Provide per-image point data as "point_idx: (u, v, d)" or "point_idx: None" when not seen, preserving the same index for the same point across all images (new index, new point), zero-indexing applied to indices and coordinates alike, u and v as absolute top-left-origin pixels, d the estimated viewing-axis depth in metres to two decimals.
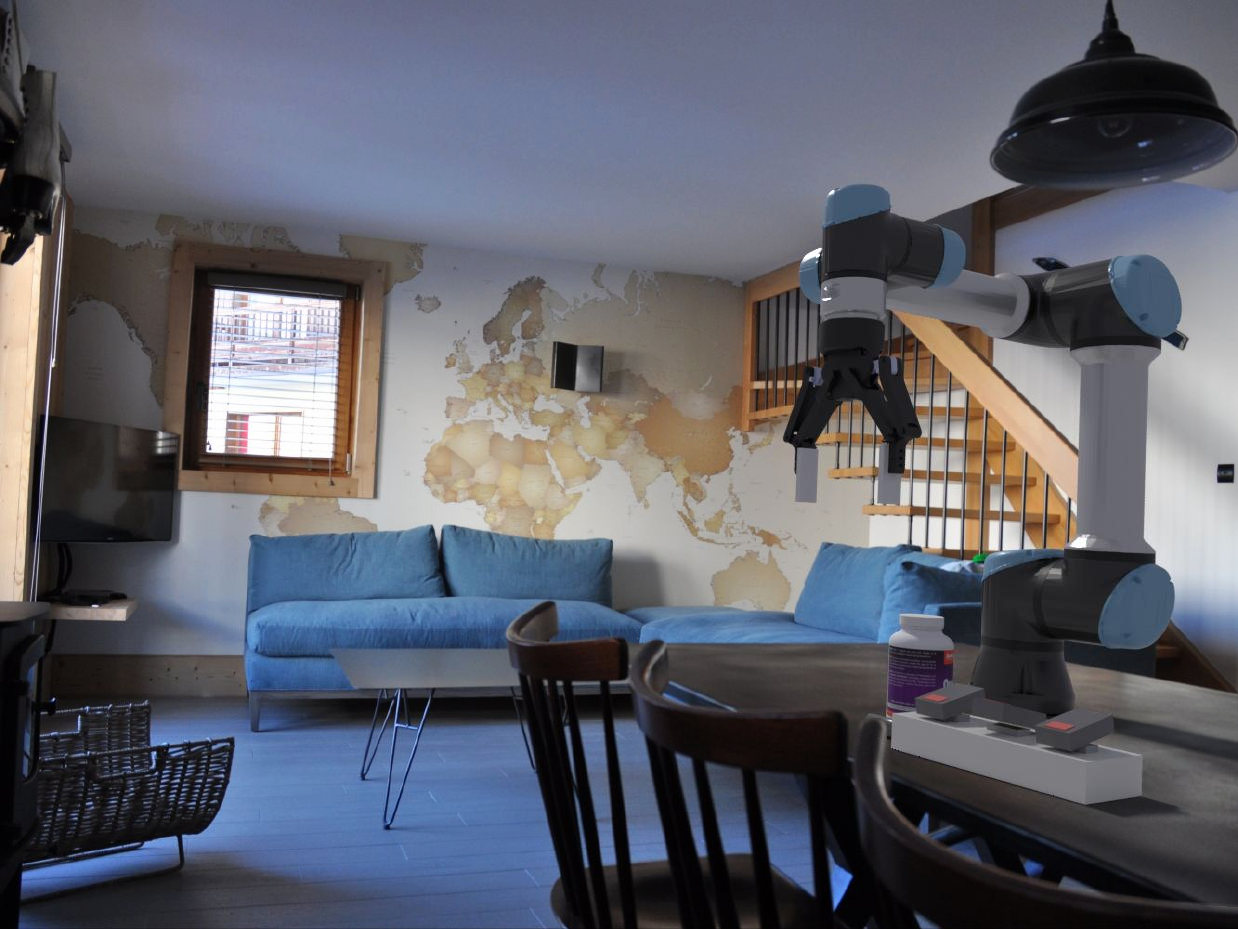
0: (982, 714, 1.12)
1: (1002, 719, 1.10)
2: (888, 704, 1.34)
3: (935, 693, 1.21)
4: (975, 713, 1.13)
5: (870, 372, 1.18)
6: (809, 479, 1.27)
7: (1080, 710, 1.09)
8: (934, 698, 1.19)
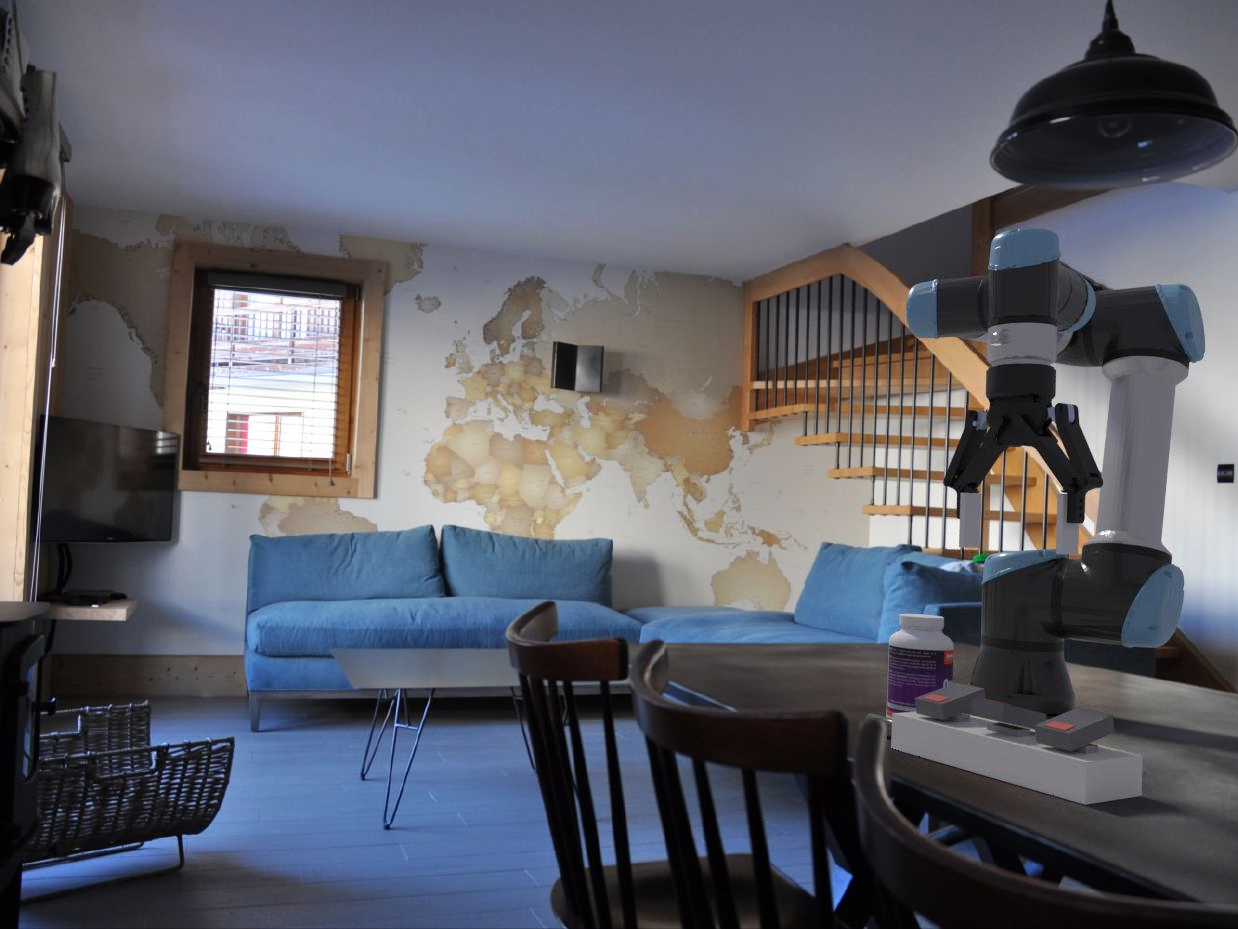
0: (982, 714, 1.12)
1: (1002, 719, 1.10)
2: (888, 704, 1.34)
3: (935, 693, 1.21)
4: (975, 713, 1.13)
5: (1044, 419, 1.17)
6: (973, 524, 1.26)
7: (1080, 710, 1.09)
8: (934, 698, 1.19)
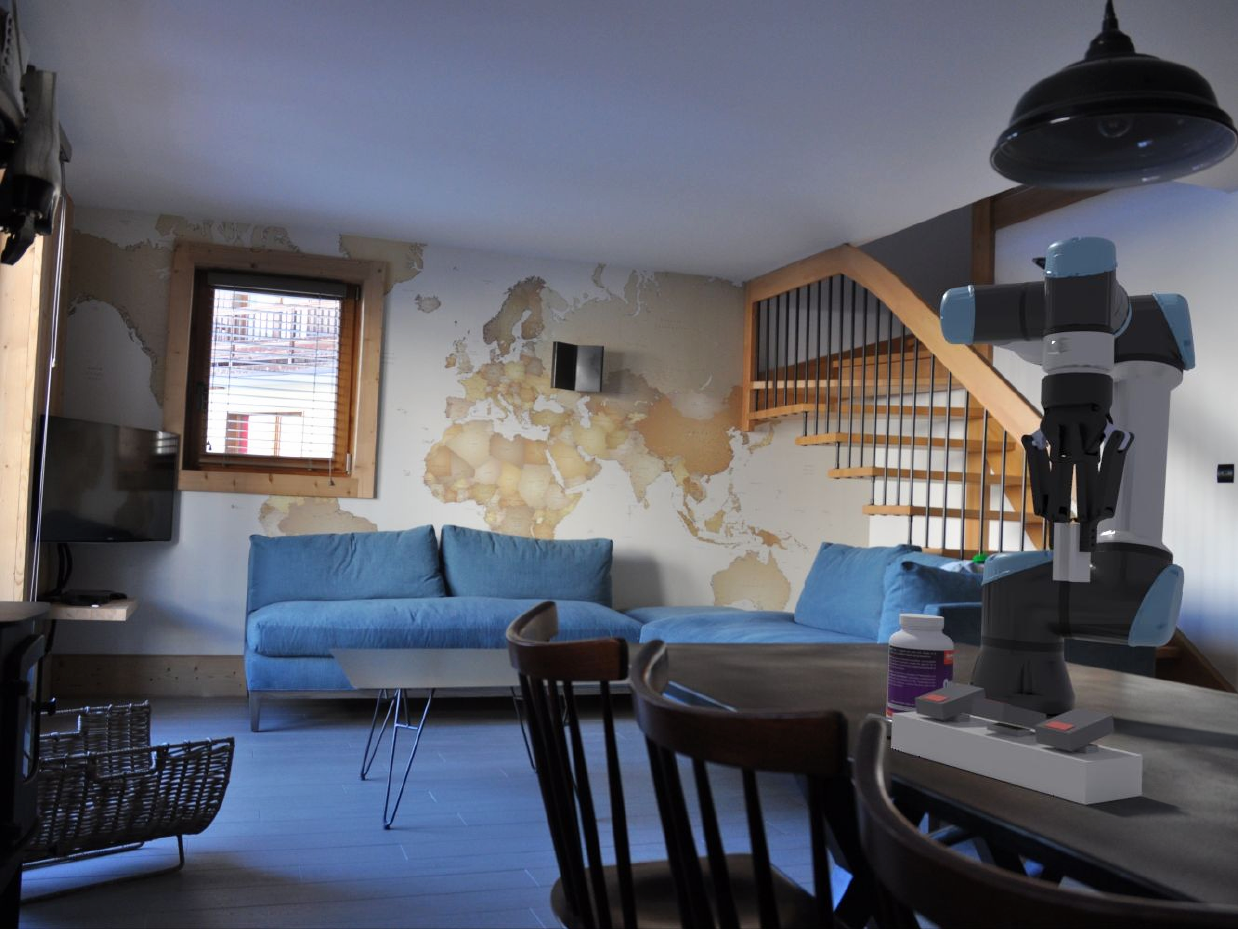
0: (982, 714, 1.12)
1: (1002, 719, 1.10)
2: (888, 704, 1.34)
3: (935, 693, 1.21)
4: (975, 713, 1.13)
5: None
6: (1067, 556, 1.20)
7: (1080, 710, 1.09)
8: (934, 698, 1.19)
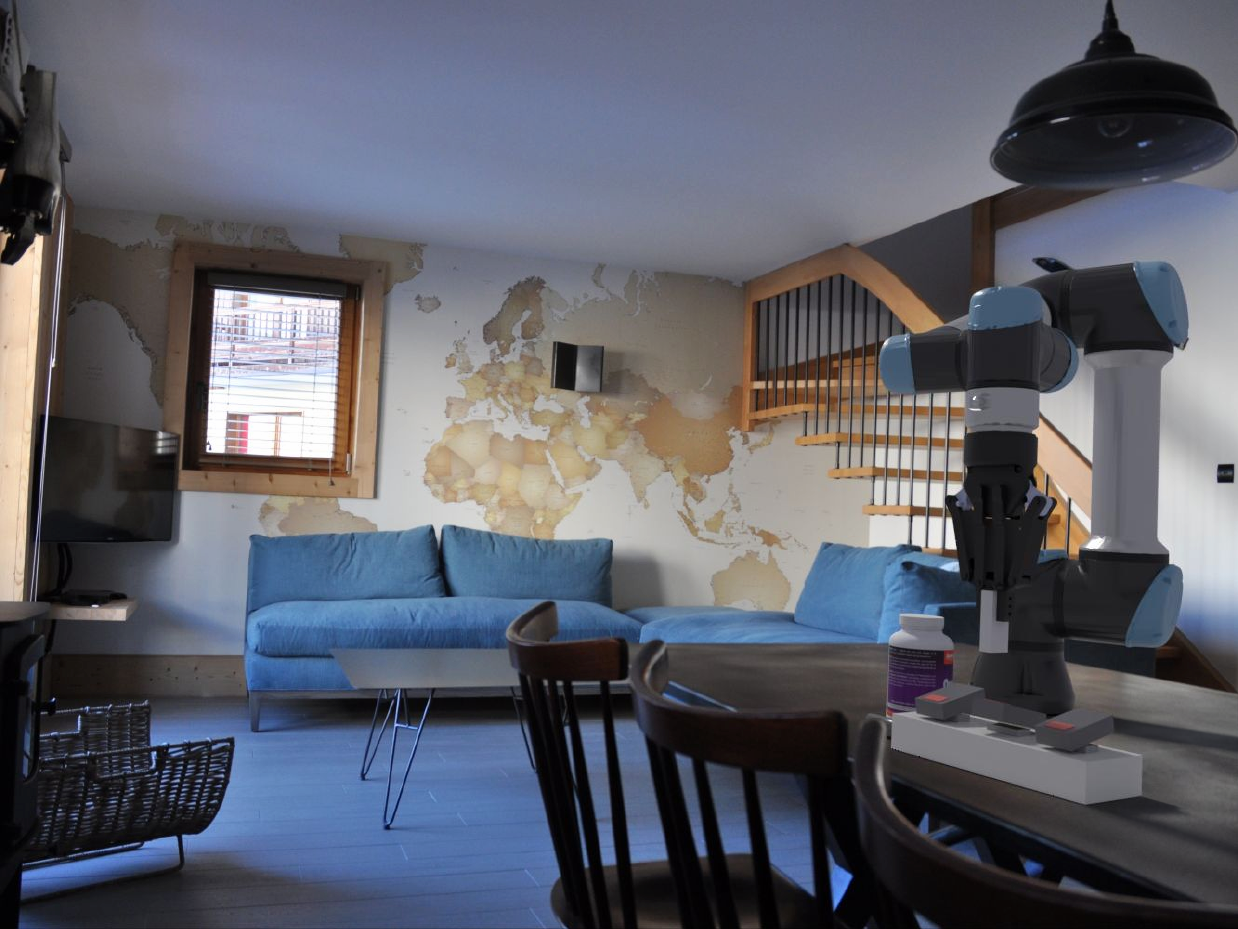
0: (982, 714, 1.12)
1: (1002, 719, 1.10)
2: (888, 704, 1.34)
3: (935, 693, 1.21)
4: (975, 713, 1.13)
5: None
6: None
7: (1080, 710, 1.09)
8: (934, 698, 1.19)
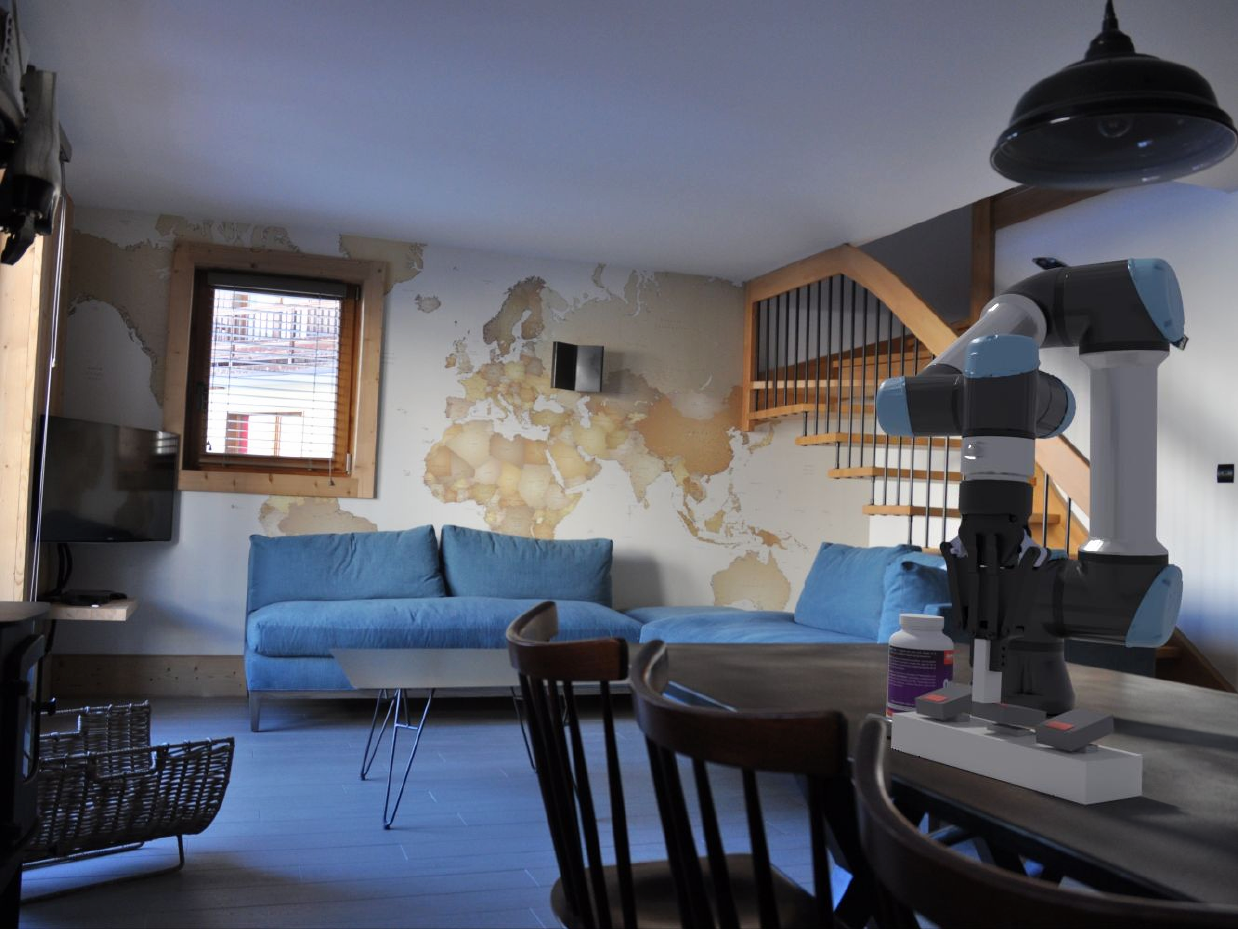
0: (982, 716, 1.12)
1: (1002, 721, 1.10)
2: (888, 704, 1.34)
3: (935, 693, 1.21)
4: (975, 715, 1.13)
5: None
6: None
7: (1080, 710, 1.09)
8: (934, 698, 1.19)
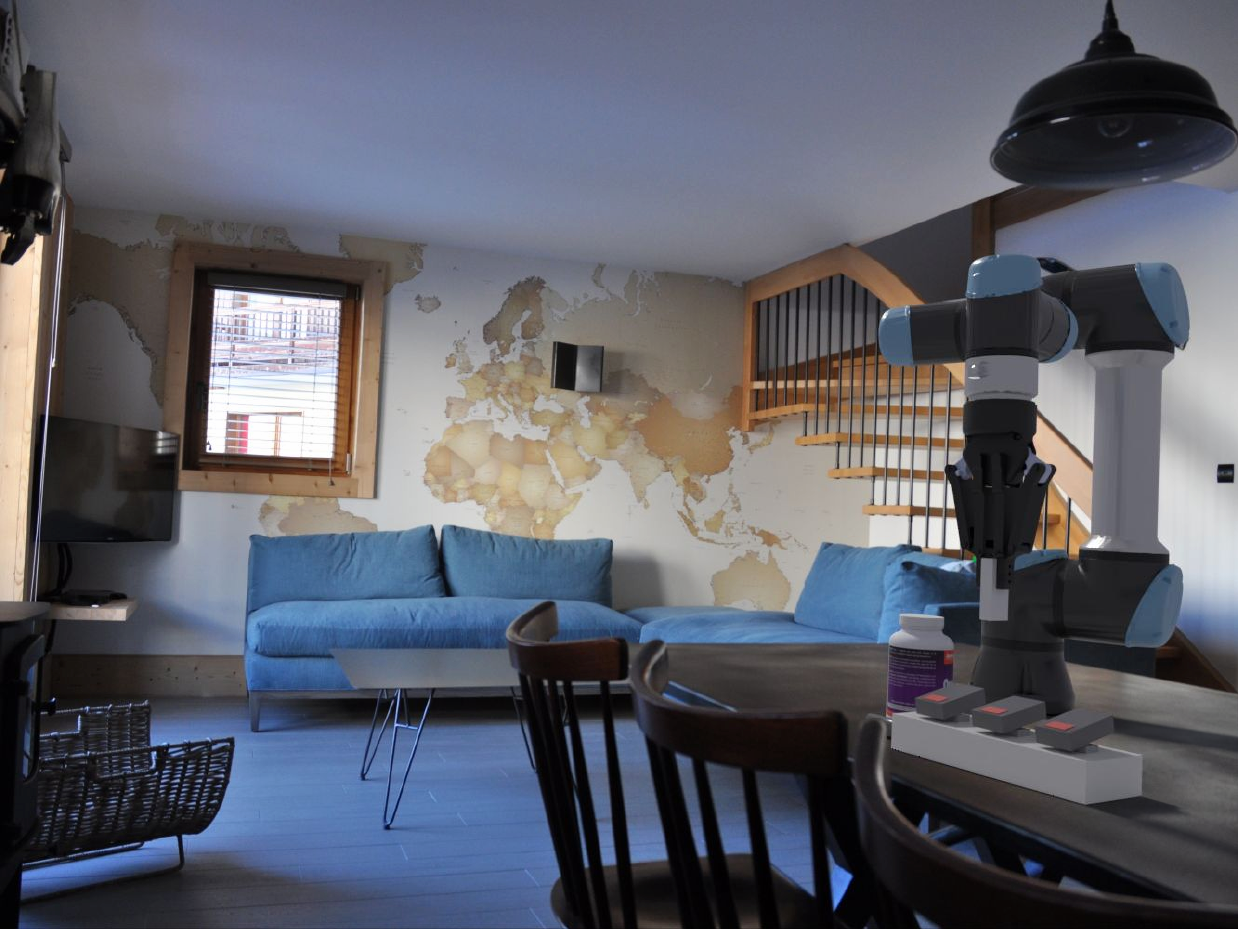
0: (983, 726, 1.12)
1: (1003, 731, 1.10)
2: (888, 704, 1.34)
3: (935, 693, 1.21)
4: (976, 725, 1.13)
5: None
6: None
7: (1080, 710, 1.09)
8: (934, 698, 1.19)
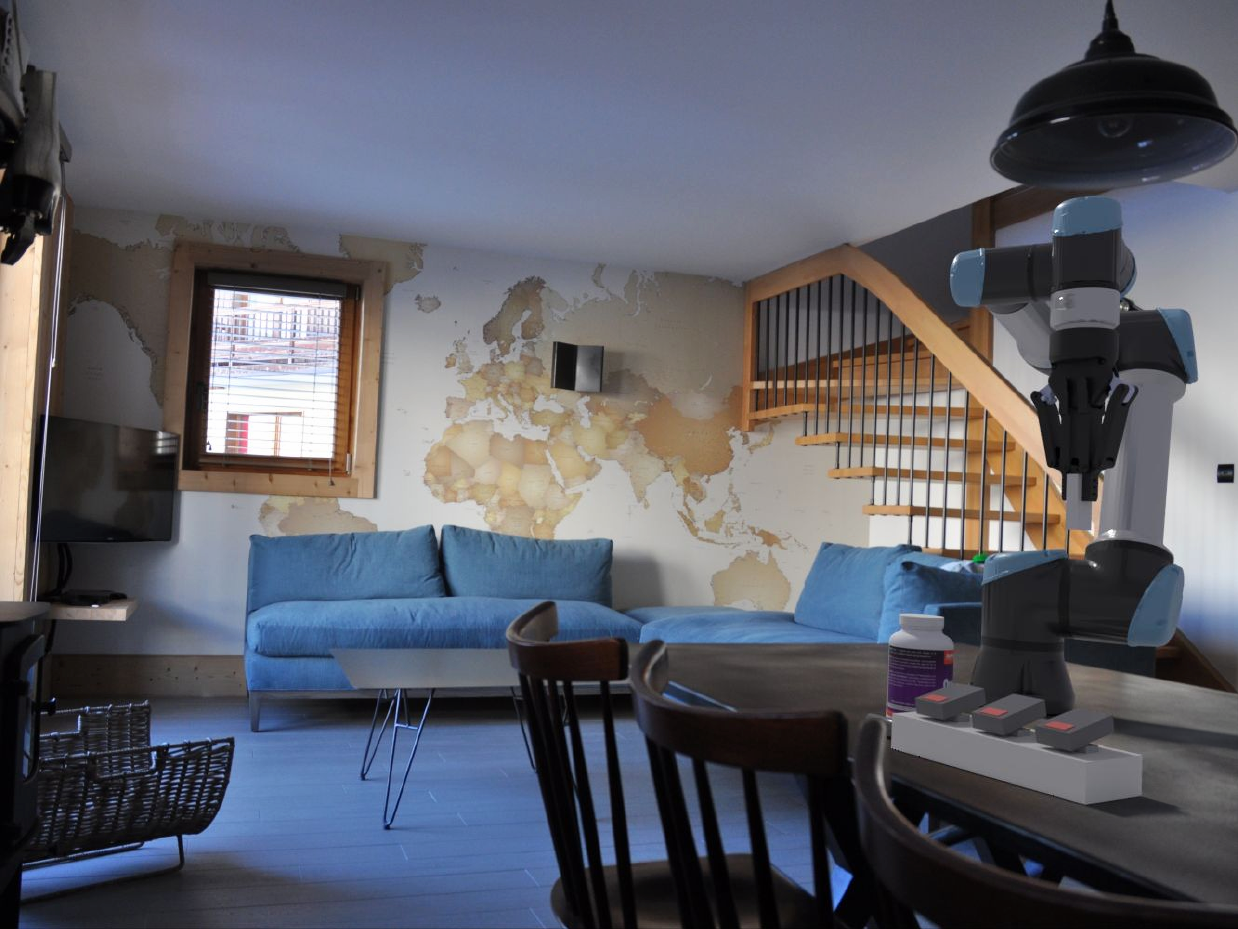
0: (984, 729, 1.12)
1: (1004, 733, 1.10)
2: (888, 704, 1.34)
3: (935, 693, 1.21)
4: (977, 727, 1.13)
5: None
6: None
7: (1080, 710, 1.09)
8: (934, 698, 1.19)
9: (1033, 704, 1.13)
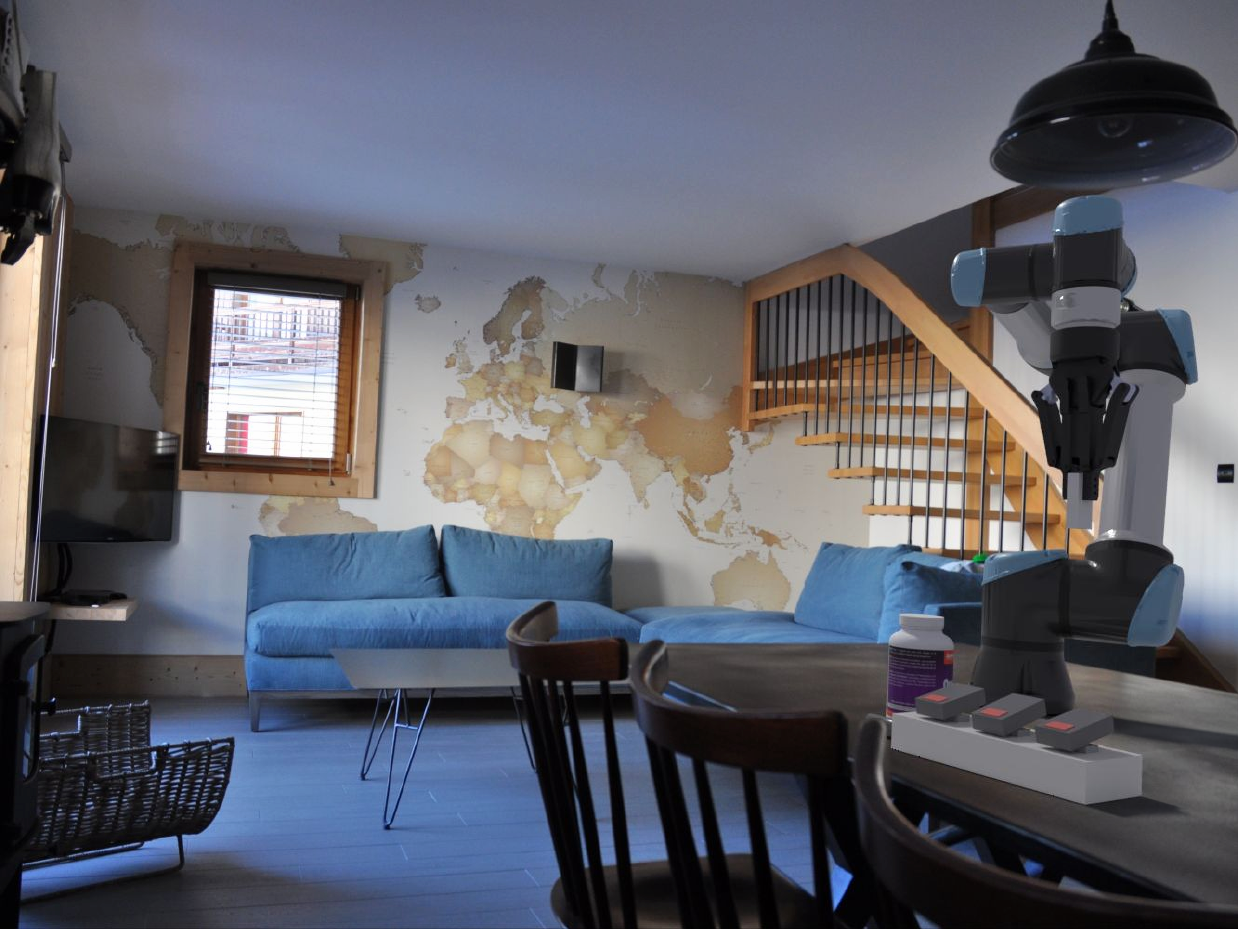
0: (984, 729, 1.12)
1: (1004, 734, 1.10)
2: (888, 704, 1.34)
3: (935, 693, 1.21)
4: (977, 728, 1.13)
5: None
6: None
7: (1080, 710, 1.09)
8: (934, 698, 1.19)
9: (1033, 704, 1.13)
